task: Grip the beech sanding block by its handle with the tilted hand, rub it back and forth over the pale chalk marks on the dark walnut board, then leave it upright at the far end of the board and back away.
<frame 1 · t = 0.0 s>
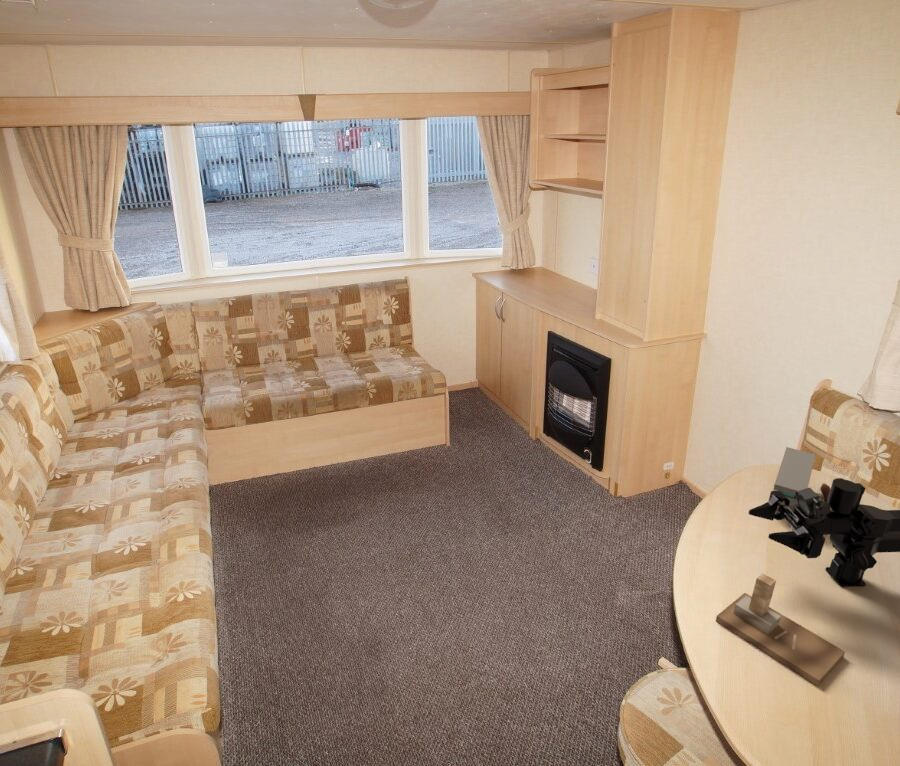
hand: (758, 523, 149), 17 cm above the table, fingers open, 9 cm apart
walnut board: (777, 638, 139), on the table
grey rectangular box: (787, 501, 188), on the table
gavel: (827, 505, 187), on the table
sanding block: (755, 618, 142), point 2 cm above the table, touching walnut board
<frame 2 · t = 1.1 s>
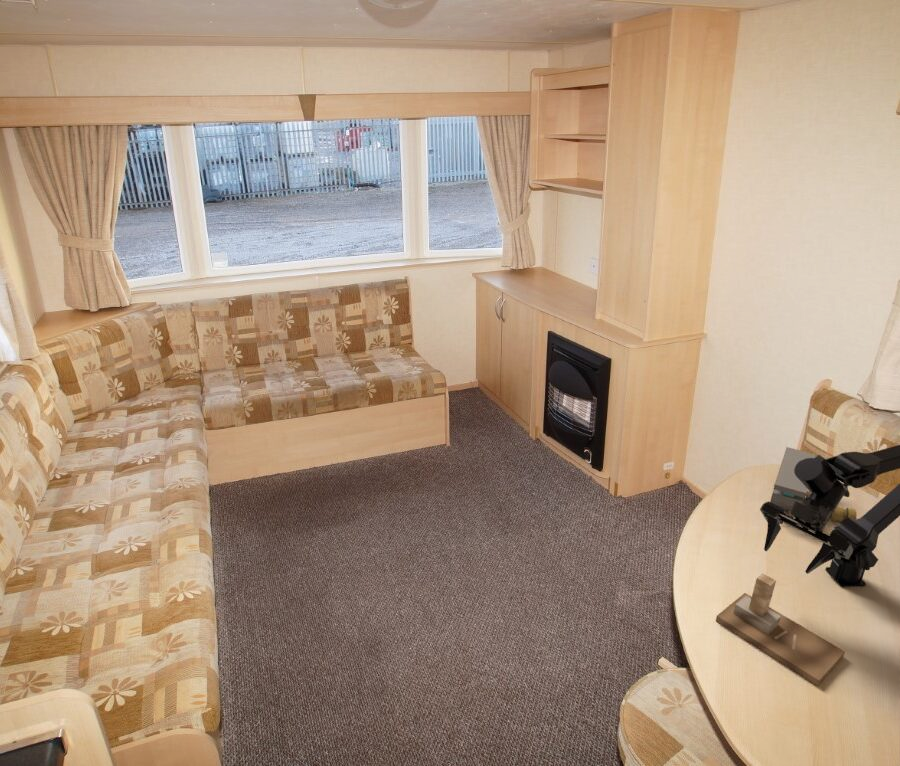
hand: (785, 561, 142), 14 cm above the table, fingers open, 9 cm apart
nothing on the table moved.
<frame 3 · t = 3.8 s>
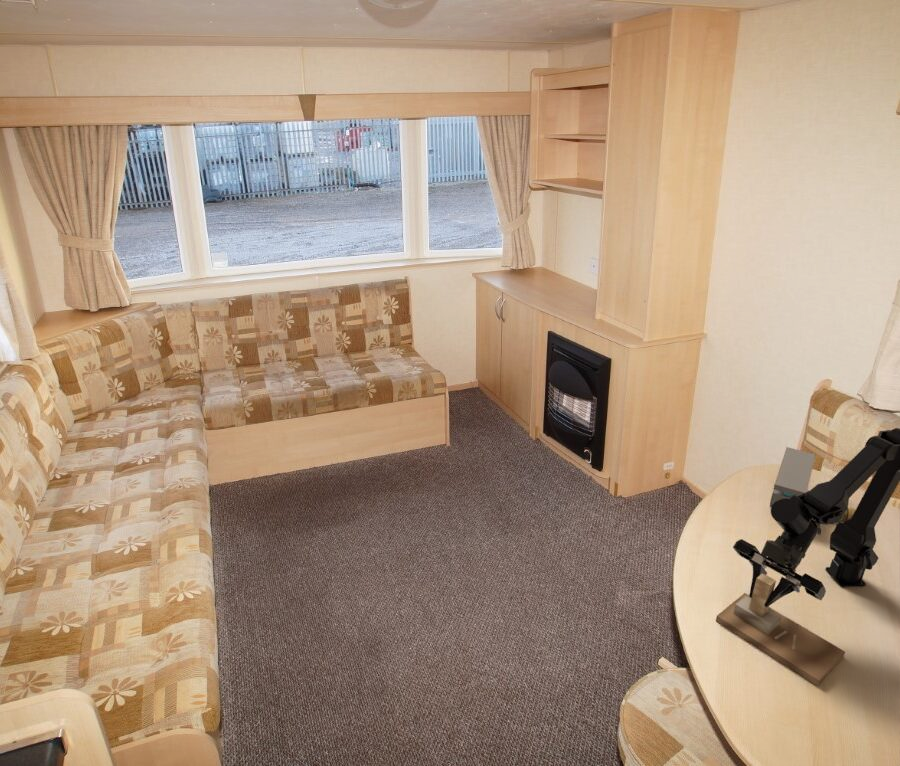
hand: (757, 601, 139), 7 cm above the table, fingers closed on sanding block, 3 cm apart
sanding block: (755, 618, 142), point 2 cm above the table, touching gripper, walnut board
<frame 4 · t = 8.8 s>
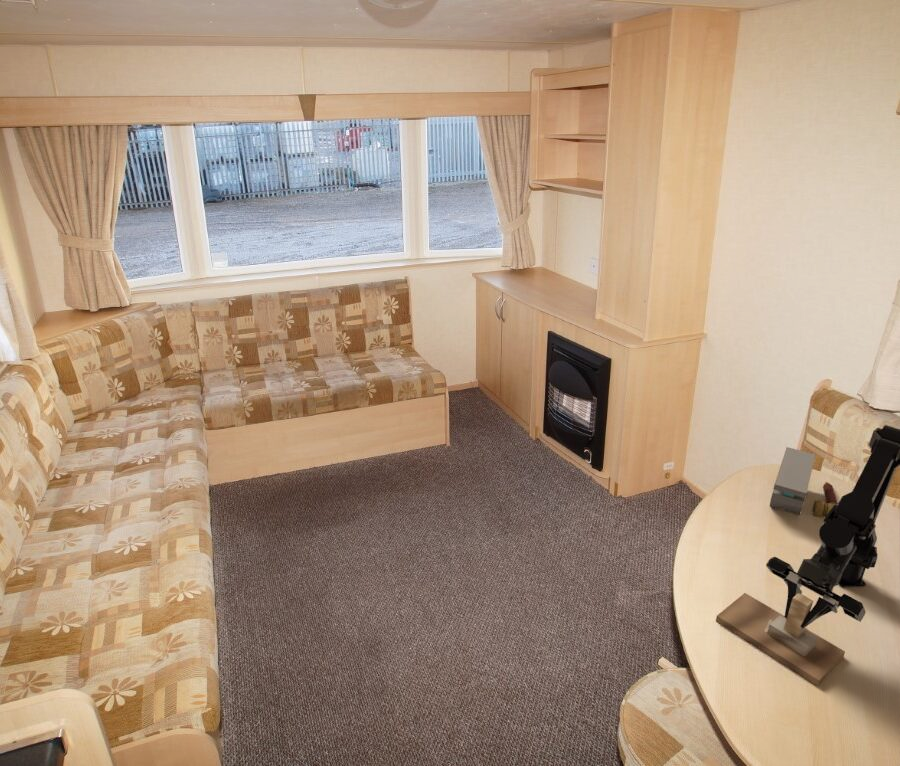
hand: (793, 622, 134), 7 cm above the table, fingers closed on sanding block, 3 cm apart
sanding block: (790, 639, 137), point 2 cm above the table, touching gripper
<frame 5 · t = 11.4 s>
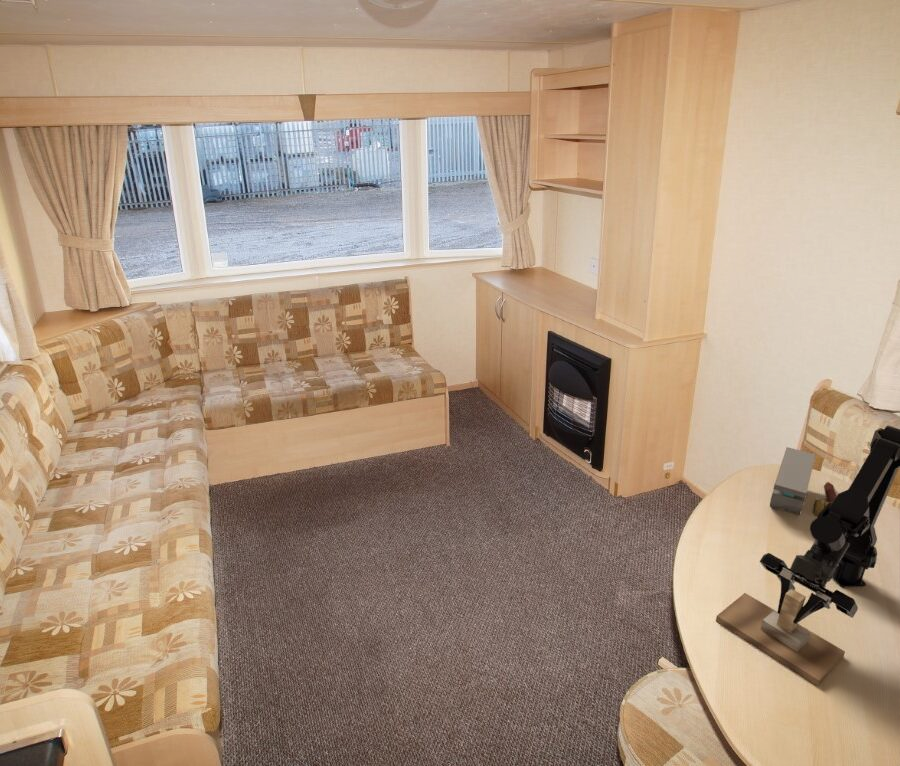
hand: (786, 618, 135), 7 cm above the table, fingers closed on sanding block, 3 cm apart
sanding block: (783, 635, 138), point 2 cm above the table, touching gripper
when the fingers open (7 cm above the table, at t = 13.6 s): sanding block stays where it is, resting on walnut board.
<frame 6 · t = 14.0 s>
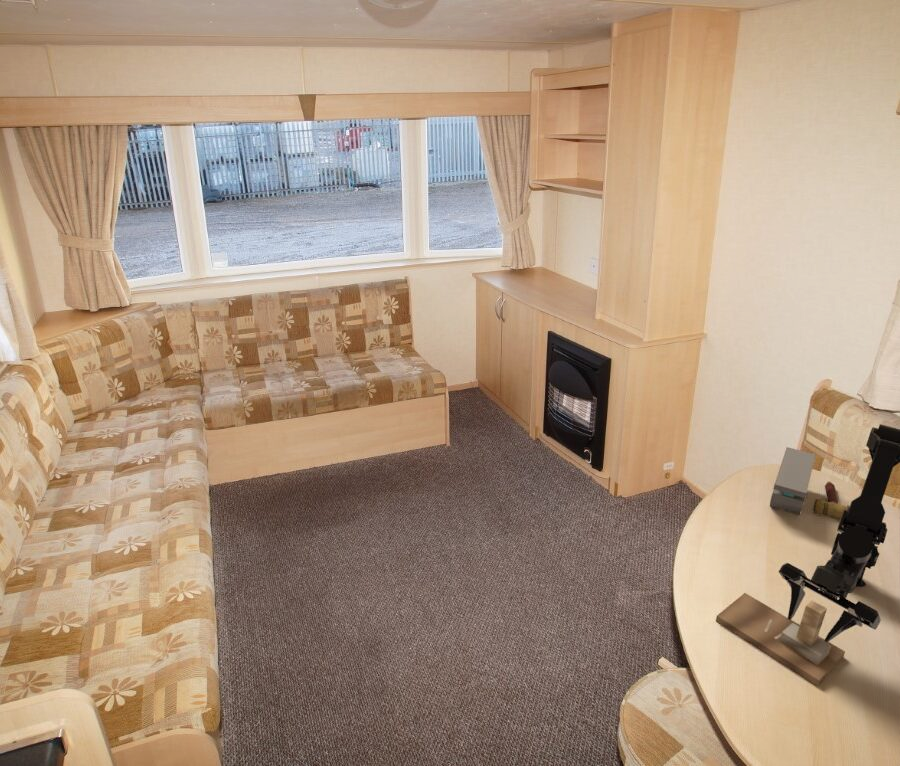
hand: (806, 630, 132), 7 cm above the table, fingers open, 7 cm apart
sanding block: (803, 647, 135), point 2 cm above the table, touching walnut board
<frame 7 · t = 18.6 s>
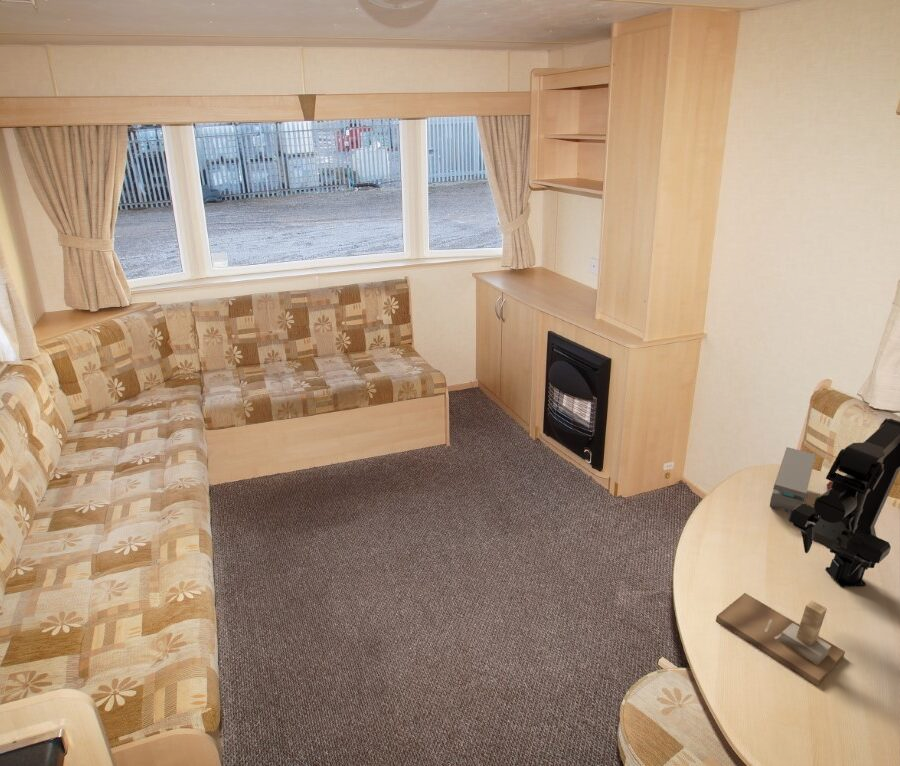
hand: (827, 563, 142), 13 cm above the table, fingers open, 9 cm apart
at the end: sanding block inside the target area (0.6 cm from its centre), point 1.5 cm above the table; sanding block tilted 0°; the gripper is holding nothing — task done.
